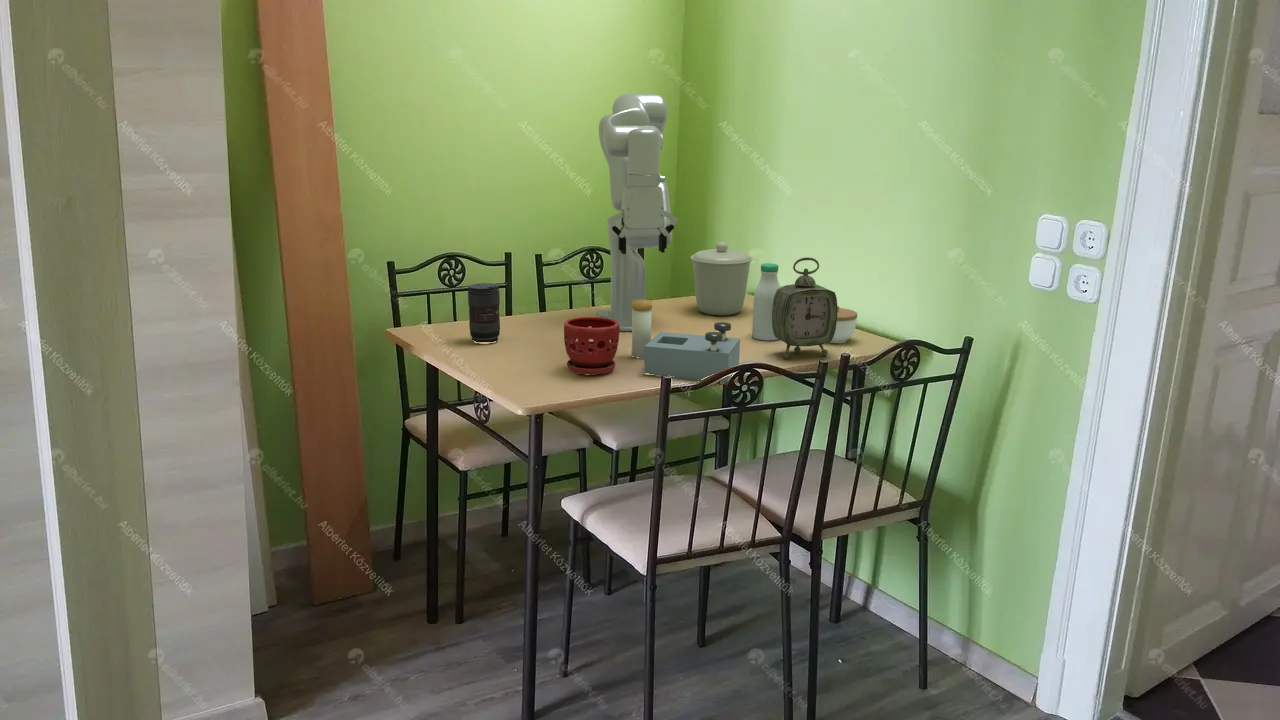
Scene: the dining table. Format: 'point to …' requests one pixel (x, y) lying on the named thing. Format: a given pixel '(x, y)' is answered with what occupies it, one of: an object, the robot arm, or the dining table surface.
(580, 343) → the plant pot
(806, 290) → the tabletop clock
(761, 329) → the milk bottle
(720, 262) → the canister
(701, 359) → the housing
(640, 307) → the cylinder
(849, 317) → the lidded jar
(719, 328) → the plunger
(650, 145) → the robot arm
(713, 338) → the plunger
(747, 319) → the dining table surface
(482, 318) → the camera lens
